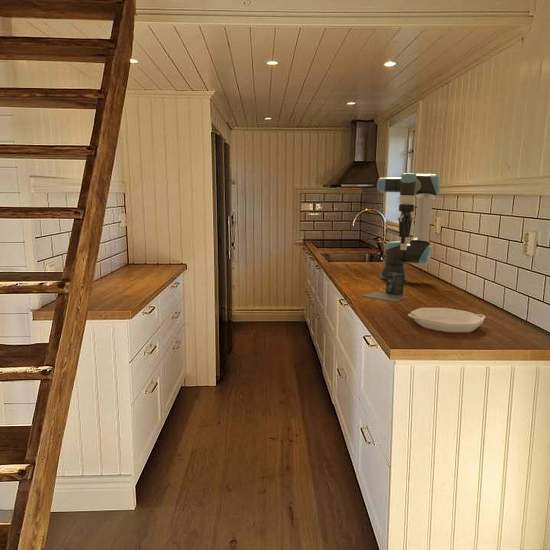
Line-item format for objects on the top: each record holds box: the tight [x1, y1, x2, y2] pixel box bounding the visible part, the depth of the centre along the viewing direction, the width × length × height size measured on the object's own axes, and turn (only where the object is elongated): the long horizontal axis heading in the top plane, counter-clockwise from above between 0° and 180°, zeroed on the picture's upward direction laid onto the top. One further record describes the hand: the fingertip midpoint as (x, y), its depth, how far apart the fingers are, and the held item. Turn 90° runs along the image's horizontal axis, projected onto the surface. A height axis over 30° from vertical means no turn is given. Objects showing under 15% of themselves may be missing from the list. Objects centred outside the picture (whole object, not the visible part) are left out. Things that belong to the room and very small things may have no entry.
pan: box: [407, 307, 487, 334], centre depth 189 cm, size 31×26×4 cm
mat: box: [362, 291, 408, 303], centre depth 239 cm, size 14×18×1 cm
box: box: [385, 272, 405, 296], centre depth 246 cm, size 8×6×11 cm
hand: (403, 249), depth 250 cm, fingers closed
